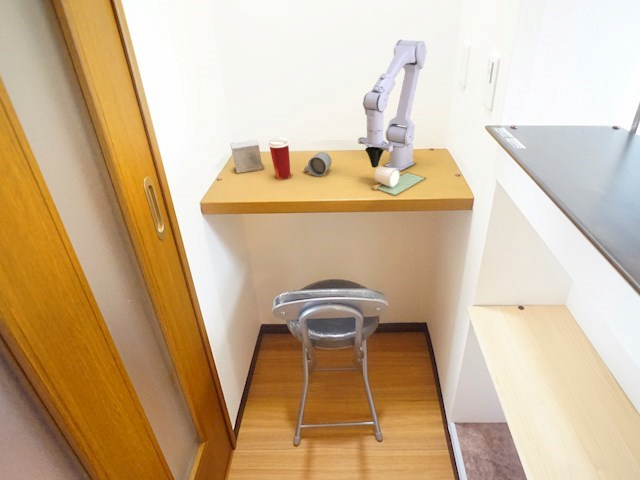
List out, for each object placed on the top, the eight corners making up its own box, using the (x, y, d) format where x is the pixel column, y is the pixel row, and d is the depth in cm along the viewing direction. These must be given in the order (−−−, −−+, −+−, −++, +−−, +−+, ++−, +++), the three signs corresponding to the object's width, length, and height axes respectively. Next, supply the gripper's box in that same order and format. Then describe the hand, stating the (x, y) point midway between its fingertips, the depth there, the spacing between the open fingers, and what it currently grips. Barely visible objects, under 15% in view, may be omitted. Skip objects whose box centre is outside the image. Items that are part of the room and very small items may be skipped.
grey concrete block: (237, 173, 158) (231, 148, 152) (235, 168, 163) (229, 142, 157) (263, 169, 161) (258, 144, 155) (260, 163, 166) (256, 139, 160)
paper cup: (296, 173, 156) (292, 138, 148) (286, 181, 151) (281, 145, 143) (280, 171, 159) (275, 136, 151) (269, 178, 154) (263, 142, 145)
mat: (406, 173, 153) (406, 172, 153) (424, 178, 149) (424, 177, 149) (377, 189, 143) (377, 188, 143) (394, 195, 139) (394, 194, 138)
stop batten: (393, 178, 150) (393, 175, 149) (395, 179, 149) (395, 176, 149) (372, 189, 143) (372, 186, 143) (375, 190, 142) (375, 187, 142)
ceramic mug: (333, 168, 159) (331, 150, 155) (327, 177, 153) (325, 157, 148) (308, 167, 162) (306, 148, 157) (301, 175, 155) (298, 156, 151)
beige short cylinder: (378, 186, 148) (394, 191, 144) (370, 177, 142) (386, 182, 138) (387, 170, 148) (402, 174, 144) (379, 160, 142) (395, 164, 138)
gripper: (351, 128, 139) (353, 165, 147) (384, 136, 131) (383, 175, 139) (365, 123, 143) (365, 159, 151) (397, 130, 135) (395, 168, 143)
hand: (374, 166), depth 146 cm, fingers closed
